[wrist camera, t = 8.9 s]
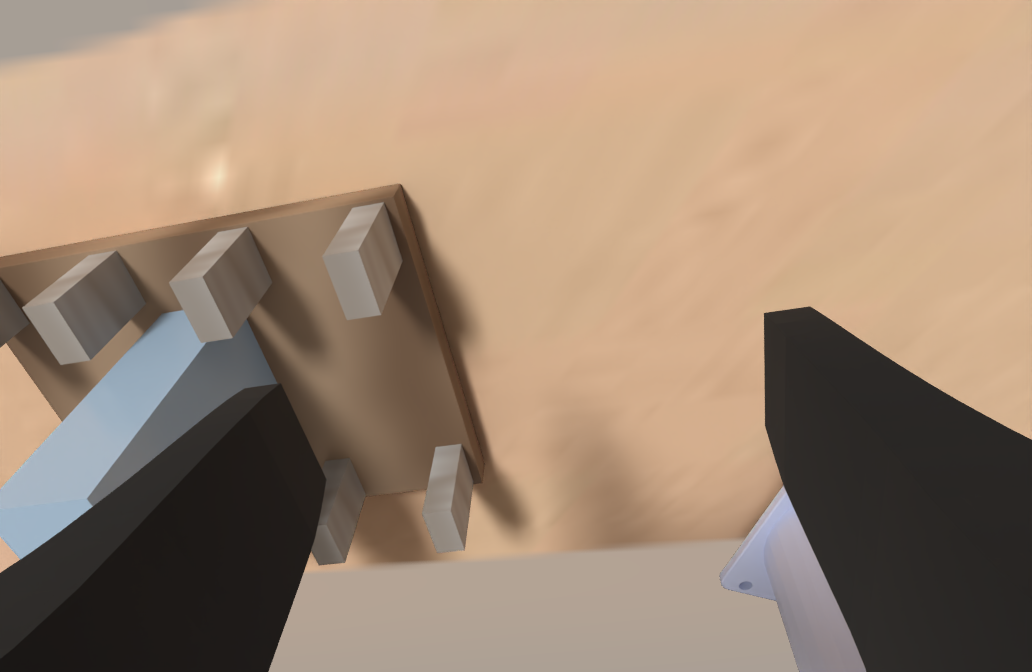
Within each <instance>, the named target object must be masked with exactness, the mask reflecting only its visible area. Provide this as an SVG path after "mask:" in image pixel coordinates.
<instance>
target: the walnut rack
mask: <svg viewBox="0 0 1032 672" xmlns="http://www.w3.org/2000/svg"><path fill="white" fill-rule="evenodd" d="M181 310H184V312H185V314H186V316H187V318H188V320H189V322H190V323H191V325H192V327H193V329H194V331H195V333H196V335H197V337H198V339H199V340H200V342H201V343H205V342H211V341H217V340H224V339H230V338H233V337H234V336H235V335H236V333H237V332H238V330H239V329H240V327H241V326H242V325H243V323H244V322H245V320H246V319H247V321H248V323H249V325H250V327H251V329H252V332H253V334H254V336H255V338H256V340H257V342H258V344H259V346H260V348H261V350H262V352H263V355H264V357H265V359H266V361H267V363H268V365H269V367H270V369H271V371H272V373H273V375H274V377H275V380H276V382H277V384H278V383H281V384H282V387H283V389H284V391H285V393H286V395H287V397H288V399H289V401H290V403H291V405H292V408H293V410H294V412H295V414H296V416H297V418H298V420H299V422H300V424H301V427H302V429H303V431H304V433H305V435H306V437H307V439H308V441H309V443H310V445H311V448H312V450H313V452H314V454H315V456H316V458H317V460H318V462H319V464H320V467H321V469H322V471H323V473H324V475H325V477H326V479H327V480H326V486H325V491H324V497H323V503H322V508H321V513H320V518H319V522H318V527H317V532H316V536H315V540H314V543H313V546H312V549H311V551H312V553H313V555H314V557H315V559H316V561H317V562H318V564H319V565H327V564H337V563H345V561H346V558H347V555H348V552H349V548H350V545H351V542H352V538H353V535H354V532H355V529H356V525H357V522H358V519H359V515H360V512H361V509H362V506H363V502H364V499H365V497H367V496H376V495H384V494H393V493H401V492H410V491H418V490H427V492H426V497H425V502H424V507H423V511H422V515H423V518H424V520H425V523H426V525H427V528H428V531H429V533H430V536H431V538H432V541H433V543H434V546H435V549H436V551H437V553H443V552H452V551H462V550H465V544H466V536H467V528H468V521H469V513H470V505H471V497H472V490H473V484H478V483H482V482H483V473H484V465H485V463H484V459H483V456H482V453H481V450H480V446H479V443H478V440H477V436H476V433H475V430H474V426H473V423H472V420H471V416H470V413H469V410H468V407H467V403H466V400H465V397H464V393H463V390H462V387H461V383H460V380H459V377H458V373H457V370H456V367H455V364H454V360H453V357H452V354H451V350H450V347H449V344H448V340H447V337H446V334H445V330H444V327H443V324H442V321H441V317H440V314H439V311H438V307H437V304H436V301H435V297H434V294H433V291H432V287H431V284H430V281H429V278H428V274H427V271H426V268H425V264H424V261H423V258H422V254H421V251H420V248H419V244H418V241H417V238H416V235H415V231H414V228H413V225H412V221H411V218H410V215H409V211H408V208H407V205H406V201H405V198H404V195H403V192H402V188H401V185H400V184H396V185H390V186H385V187H380V188H374V189H369V190H363V191H358V192H352V193H347V194H341V195H336V196H331V197H325V198H320V199H314V200H309V201H303V202H298V203H292V204H287V205H281V206H276V207H271V208H265V209H260V210H254V211H249V212H243V213H238V214H232V215H227V216H222V217H216V218H211V219H205V220H200V221H194V222H189V223H183V224H178V225H173V226H167V227H162V228H156V229H151V230H145V231H140V232H134V233H129V234H124V235H118V236H113V237H107V238H102V239H96V240H91V241H85V242H80V243H75V244H69V245H64V246H58V247H53V248H47V249H42V250H36V251H31V252H26V253H20V254H15V255H9V256H4V257H0V347H2V346H3V345H4V344H5V343H7V345H8V346H9V348H10V349H11V350H12V352H13V353H14V355H15V356H16V357H17V359H18V360H19V362H20V363H21V365H22V366H23V367H24V369H25V370H26V372H27V373H28V374H29V376H30V377H31V379H32V380H33V381H34V383H35V384H36V386H37V387H38V388H39V390H40V391H41V393H42V394H43V395H44V397H45V398H46V400H47V401H48V402H49V404H50V405H51V407H52V408H53V409H54V411H55V412H56V414H57V415H58V417H59V418H60V419H61V421H62V422H63V421H64V419H65V418H66V417H67V416H68V415H69V414H70V413H71V412H72V411H73V410H74V409H75V408H76V406H77V405H78V404H79V403H80V402H81V401H82V400H83V399H84V398H85V397H86V396H87V395H88V393H89V392H90V391H91V390H92V389H93V388H94V387H95V386H96V385H97V384H98V383H99V382H100V380H101V379H102V378H103V377H104V376H105V375H106V374H107V373H108V372H109V371H110V370H111V369H112V367H113V366H114V365H115V364H116V363H117V362H118V361H119V360H120V359H121V358H122V357H123V356H124V354H125V353H126V352H127V351H128V350H129V349H130V348H131V347H132V346H133V345H134V344H135V342H136V341H137V340H138V339H139V338H140V337H141V336H142V335H143V334H144V333H145V332H146V331H147V329H148V328H149V327H150V326H151V325H152V324H153V323H154V322H155V321H156V320H157V319H158V318H159V316H160V315H161V314H163V313H169V312H175V311H181Z"/></svg>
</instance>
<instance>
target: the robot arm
mask: <svg viewBox="0 0 1032 672" xmlns="http://www.w3.org/2000/svg"><path fill="white" fill-rule="evenodd" d="M764 355H765V427H766V430H767V434H768V437H769V440H770V444H771V447H772V450H773V454H774V457H775V460H776V463H777V466H778V469H779V473H780V476H781V479H782V482H783V487H782V488H781V489H780V491H779V492H778V494H777V495H776V496H775V498H774V499H773V501H772V502H771V503H770V505H769V506H768V508H767V509H766V510H765V512H764V513H763V515H762V516H761V517H760V519H759V520H758V522H757V523H756V524H755V526H754V527H753V528H752V530H751V531H750V533H749V534H748V535H747V537H746V538H745V540H744V541H743V542H742V544H741V545H740V547H739V548H738V549H737V551H736V552H735V554H734V555H733V557H732V558H731V559H730V561H729V562H728V564H727V565H726V566H725V567H724V569H723V570H722V572H721V573H720V580H721V585H722V586H723V587H724V588H726V589H728V590H732V591H736V592H740V593H745V594H749V595H753V596H757V597H762V598H766V599H771V600H774V601H777V604H778V607H779V610H780V614H781V617H782V620H783V623H784V626H785V629H786V632H787V635H788V638H789V642H790V645H791V648H792V651H793V654H794V657H795V660H796V663H797V667H798V670H799V672H1032V440H1031V439H1029V438H1027V437H1025V436H1023V435H1021V434H1019V433H1017V432H1015V431H1013V430H1011V429H1009V428H1007V427H1006V426H1004V425H1002V424H1000V423H998V422H996V421H995V420H993V419H991V418H989V417H987V416H985V415H984V414H982V413H980V412H978V411H976V410H974V409H973V408H971V407H969V406H967V405H965V404H964V403H962V402H960V401H958V400H956V399H955V398H953V397H951V396H950V395H948V394H946V393H944V392H943V391H941V390H939V389H938V388H936V387H934V386H932V385H931V384H929V383H928V382H926V381H924V380H923V379H921V378H919V377H918V376H916V375H914V374H913V373H911V372H910V371H908V370H906V369H905V368H903V367H902V366H900V365H898V364H897V363H895V362H894V361H892V360H891V359H889V358H888V357H886V356H884V355H883V354H881V353H880V352H878V351H877V350H875V349H874V348H872V347H871V346H869V345H868V344H866V343H865V342H863V341H862V340H860V339H859V338H857V337H856V336H854V335H853V334H851V333H850V332H848V331H847V330H845V329H844V328H842V327H841V326H839V325H838V324H836V323H835V322H833V321H832V320H830V319H829V318H827V317H826V316H824V315H823V314H821V313H820V312H818V311H816V310H815V309H813V308H812V307H803V308H796V309H790V310H783V311H776V312H769V313H764ZM326 480H327V479H326V477H325V475H324V473H323V471H322V469H321V467H320V464H319V462H318V460H317V458H316V456H315V454H314V452H313V450H312V448H311V445H310V443H309V441H308V439H307V437H306V435H305V433H304V431H303V429H302V427H301V424H300V422H299V420H298V418H297V416H296V414H295V412H294V410H293V408H292V405H291V403H290V401H289V399H288V397H287V395H286V393H285V391H284V389H283V387H282V384H281V383H278V384H271V385H264V386H257V387H250V388H244V389H243V390H241V391H240V392H238V393H237V394H235V395H233V396H232V397H231V398H229V399H228V400H226V401H225V402H224V403H222V404H221V405H220V406H218V407H217V408H216V409H214V410H213V411H212V412H211V413H209V414H208V415H207V416H205V417H204V418H203V419H202V420H200V421H199V422H198V423H197V424H195V425H194V426H193V427H192V428H191V429H189V430H188V431H187V432H186V433H184V434H183V435H182V436H181V437H179V438H178V439H177V440H176V441H175V442H173V443H172V444H171V445H170V446H168V447H167V448H166V449H165V450H164V451H162V452H161V453H160V454H159V455H157V456H156V457H155V458H154V459H152V460H151V461H150V462H149V463H148V464H146V465H145V466H144V467H143V468H141V469H140V470H139V471H138V472H136V473H135V474H134V475H133V476H132V477H130V478H129V479H128V480H127V481H125V482H124V483H123V484H121V485H120V486H119V487H117V488H116V489H115V490H114V491H112V492H111V493H110V494H108V495H107V496H106V497H104V498H103V499H102V500H101V501H99V502H98V503H97V504H95V505H94V506H93V507H91V508H90V509H89V510H87V511H86V512H85V513H84V514H82V515H81V516H80V517H78V518H77V519H76V520H74V521H73V522H72V523H71V524H69V525H68V526H67V527H65V528H64V529H63V530H61V531H60V532H59V533H57V534H56V535H54V536H53V537H52V538H50V539H49V540H48V541H46V542H45V543H43V544H42V545H41V546H39V547H38V548H36V549H35V550H33V551H32V552H31V553H29V554H28V555H26V556H25V557H23V558H22V559H21V560H19V561H18V562H16V563H15V564H13V565H12V566H10V567H9V568H7V569H6V570H4V571H3V572H1V573H0V672H268V671H269V668H270V665H271V662H272V660H273V657H274V654H275V651H276V649H277V646H278V643H279V640H280V637H281V634H282V632H283V629H284V626H285V623H286V621H287V618H288V615H289V612H290V609H291V607H292V604H293V601H294V598H295V595H296V592H297V590H298V587H299V584H300V581H301V578H302V575H303V573H304V570H305V567H306V564H307V561H308V558H309V555H310V552H311V549H312V546H313V543H314V540H315V536H316V532H317V527H318V522H319V518H320V513H321V508H322V503H323V497H324V491H325V486H326Z"/></svg>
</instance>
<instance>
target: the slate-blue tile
mask: <svg viewBox="0 0 1032 672" xmlns="http://www.w3.org/2000/svg"><path fill="white" fill-rule="evenodd" d="M271 384H277V382H276V380H275V377H274V375H273V373H272V371H271V369H270V367H269V365H268V363H267V361H266V359H265V357H264V355H263V352H262V350H261V348H260V346H259V344H258V342H257V340H256V338H255V336H254V334H253V332H252V329H251V327H250V325H249V323H248V321H247V319H246V320H245V322H244V323H243V325H242V326H241V327H240V329H239V330H238V332H237V333H236V335H235V336H234V337H233V338H230V339H224V340H217V341H211V342H205V343H201V342H200V340H199V339H198V337H197V335H196V333H195V331H194V329H193V327H192V325H191V323H190V322H189V320H188V318H187V316H186V314H185V312H184V310H181V311H175V312H169V313H163V314H161V315H160V316H159V318H158V319H157V320H156V321H155V322H154V323H153V324H152V325H151V326H150V327H149V328H148V329H147V331H146V332H145V333H144V334H143V335H142V336H141V337H140V338H139V339H138V340H137V341H136V342H135V344H134V345H133V346H132V347H131V348H130V349H129V350H128V351H127V352H126V353H125V354H124V356H123V357H122V358H121V359H120V360H119V361H118V362H117V363H116V364H115V365H114V366H113V367H112V369H111V370H110V371H109V372H108V373H107V374H106V375H105V376H104V377H103V378H102V379H101V380H100V382H99V383H98V384H97V385H96V386H95V387H94V388H93V389H92V390H91V391H90V392H89V393H88V395H87V396H86V397H85V398H84V399H83V400H82V401H81V402H80V403H79V404H78V405H77V406H76V408H75V409H74V410H73V411H72V412H71V413H70V414H69V415H68V416H67V417H66V418H65V419H64V421H63V422H62V423H61V424H60V425H59V426H58V427H57V428H56V429H55V430H54V431H53V432H52V434H51V435H50V436H49V437H48V438H47V439H46V440H45V441H44V442H43V443H42V444H41V445H40V447H39V448H38V449H37V450H36V451H35V452H34V453H33V454H32V455H31V456H30V457H29V458H28V460H27V461H26V462H25V463H24V464H23V465H22V466H21V467H20V468H19V469H18V470H17V472H16V473H15V474H14V475H13V476H12V477H11V478H10V479H9V480H8V481H7V482H6V483H5V485H4V486H3V487H2V488H1V489H0V537H1V538H2V539H3V540H4V541H5V543H6V544H7V545H8V546H9V547H10V548H11V549H12V551H13V552H14V553H15V554H16V555H17V556H18V557H19V559H20V560H21V559H22V558H23V557H25V556H26V555H28V554H29V553H31V552H32V551H33V550H35V549H36V548H38V547H39V546H41V545H42V544H43V543H45V542H46V541H48V540H49V539H50V538H52V537H53V536H54V535H56V534H57V533H59V532H60V531H61V530H63V529H64V528H65V527H67V526H68V525H69V524H71V523H72V522H73V521H74V520H76V519H77V518H78V517H80V516H81V515H82V514H84V513H85V512H86V511H87V510H89V509H90V508H91V507H93V506H94V505H95V504H97V503H98V502H99V501H101V500H102V499H103V498H104V497H106V496H107V495H108V494H110V493H111V492H112V491H114V490H115V489H116V488H117V487H119V486H120V485H121V484H123V483H124V482H125V481H127V480H128V479H129V478H130V477H132V476H133V475H134V474H135V473H136V472H138V471H139V470H140V469H141V468H143V467H144V466H145V465H146V464H148V463H149V462H150V461H151V460H152V459H154V458H155V457H156V456H157V455H159V454H160V453H161V452H162V451H164V450H165V449H166V448H167V447H168V446H170V445H171V444H172V443H173V442H175V441H176V440H177V439H178V438H179V437H181V436H182V435H183V434H184V433H186V432H187V431H188V430H189V429H191V428H192V427H193V426H194V425H195V424H197V423H198V422H199V421H200V420H202V419H203V418H204V417H205V416H207V415H208V414H209V413H211V412H212V411H213V410H214V409H216V408H217V407H218V406H220V405H221V404H222V403H224V402H225V401H226V400H228V399H229V398H231V397H232V396H233V395H235V394H237V393H238V392H240V391H241V390H243V389H244V388H250V387H257V386H264V385H271Z"/></svg>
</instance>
